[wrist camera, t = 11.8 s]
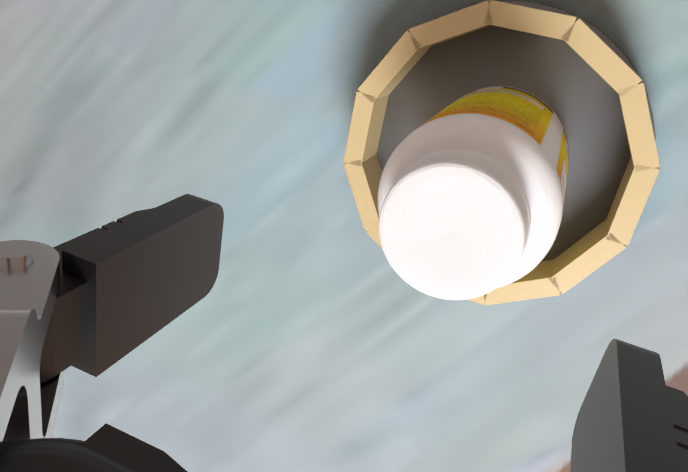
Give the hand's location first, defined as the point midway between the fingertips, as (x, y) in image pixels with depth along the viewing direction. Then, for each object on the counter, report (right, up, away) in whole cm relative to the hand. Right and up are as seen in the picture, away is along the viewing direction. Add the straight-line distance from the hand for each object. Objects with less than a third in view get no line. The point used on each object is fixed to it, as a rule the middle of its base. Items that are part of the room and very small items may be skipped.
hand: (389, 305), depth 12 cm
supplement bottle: (+6, +5, +13) cm, 15 cm away
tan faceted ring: (+6, +5, +14) cm, 16 cm away
